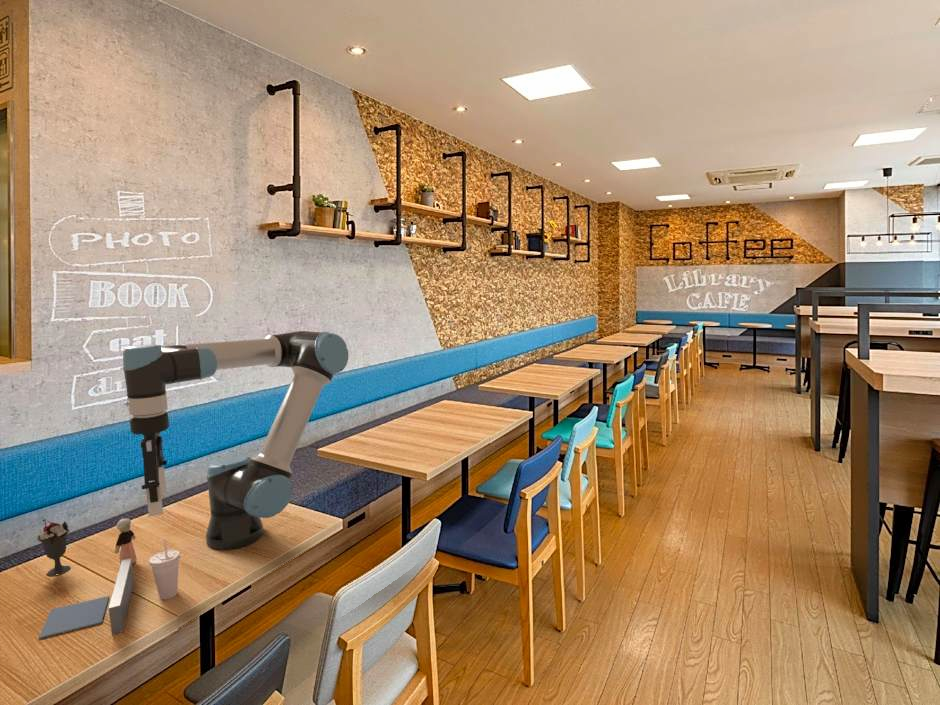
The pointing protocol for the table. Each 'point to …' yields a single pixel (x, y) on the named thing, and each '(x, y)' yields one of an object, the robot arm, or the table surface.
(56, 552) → the sundae
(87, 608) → the mat
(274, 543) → the table surface
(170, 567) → the smoothie
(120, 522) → the grandmother figurine
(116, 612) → the divider wall
